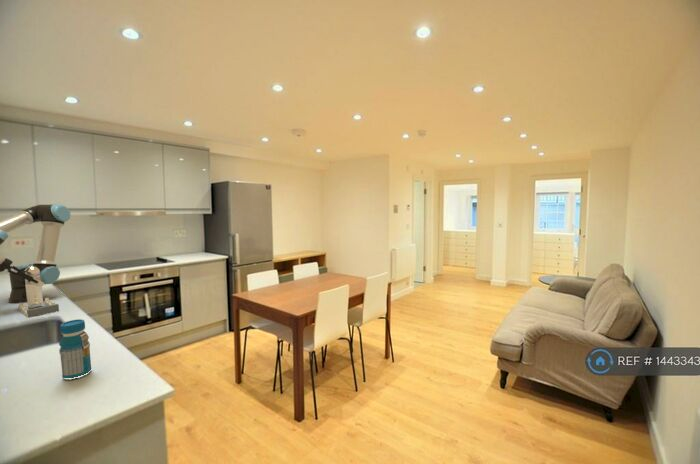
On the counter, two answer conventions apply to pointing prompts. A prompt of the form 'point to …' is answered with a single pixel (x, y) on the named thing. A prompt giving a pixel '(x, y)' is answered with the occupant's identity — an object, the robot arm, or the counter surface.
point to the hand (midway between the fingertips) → (41, 284)
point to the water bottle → (33, 286)
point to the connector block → (42, 310)
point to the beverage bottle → (74, 349)
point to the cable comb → (24, 308)
